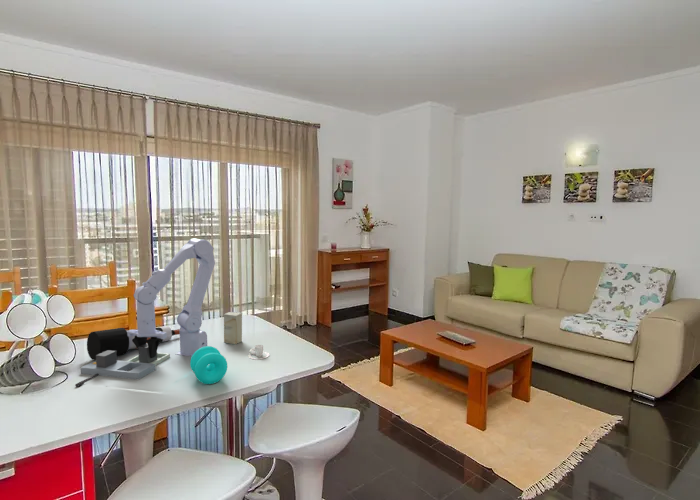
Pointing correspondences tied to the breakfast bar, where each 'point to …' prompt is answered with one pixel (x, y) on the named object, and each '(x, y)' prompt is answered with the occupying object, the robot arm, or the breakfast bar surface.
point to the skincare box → (232, 327)
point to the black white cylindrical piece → (117, 340)
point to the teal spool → (208, 365)
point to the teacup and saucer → (257, 352)
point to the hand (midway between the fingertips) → (148, 356)
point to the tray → (160, 358)
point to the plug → (145, 354)
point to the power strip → (115, 367)
